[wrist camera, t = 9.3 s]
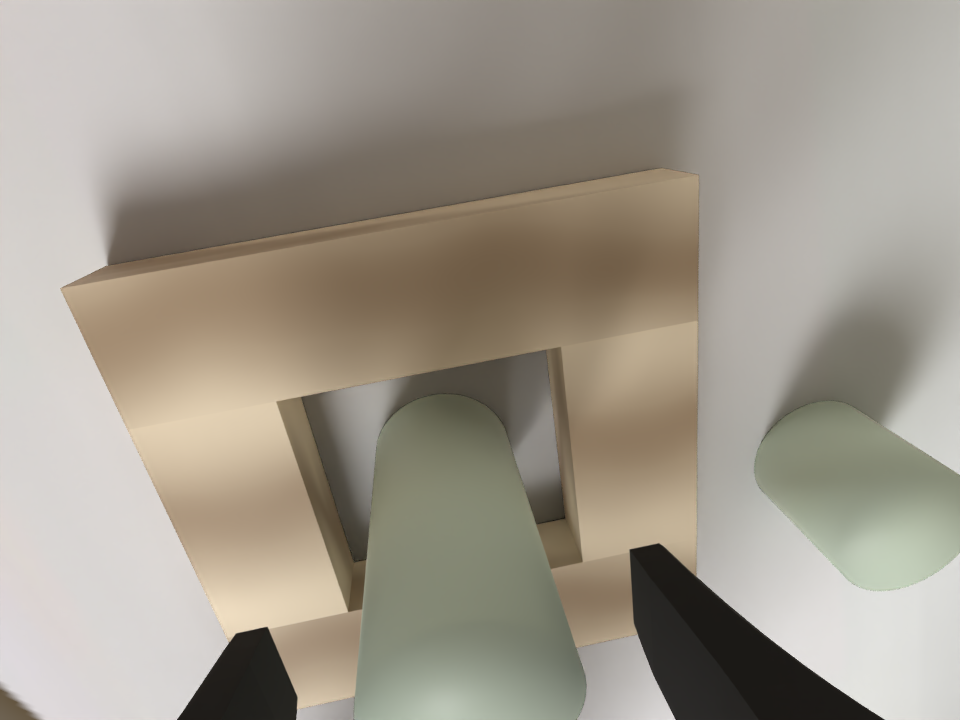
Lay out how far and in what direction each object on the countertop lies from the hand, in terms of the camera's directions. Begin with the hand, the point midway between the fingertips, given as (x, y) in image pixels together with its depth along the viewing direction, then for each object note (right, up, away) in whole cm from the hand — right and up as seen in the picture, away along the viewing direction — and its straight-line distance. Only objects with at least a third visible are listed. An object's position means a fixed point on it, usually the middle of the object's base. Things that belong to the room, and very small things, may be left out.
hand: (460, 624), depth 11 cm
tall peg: (-1, +2, +6) cm, 6 cm away
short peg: (+11, +2, +8) cm, 14 cm away
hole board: (-1, +2, +6) cm, 6 cm away
